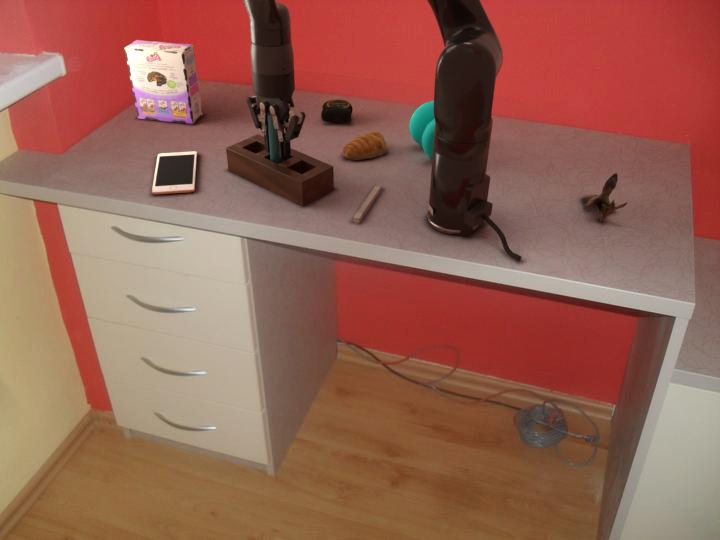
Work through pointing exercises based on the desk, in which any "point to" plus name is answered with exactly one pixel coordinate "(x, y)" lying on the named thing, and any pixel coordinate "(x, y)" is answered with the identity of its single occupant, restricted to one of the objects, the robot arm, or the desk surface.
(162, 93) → the candy box
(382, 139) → the pastry
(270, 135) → the peg
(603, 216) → the eagle figurine
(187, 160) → the cell phone
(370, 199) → the beige square stick
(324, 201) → the desk surface
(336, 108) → the tape measure
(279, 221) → the desk surface
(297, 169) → the hole block
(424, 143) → the turquoise lobed shape
